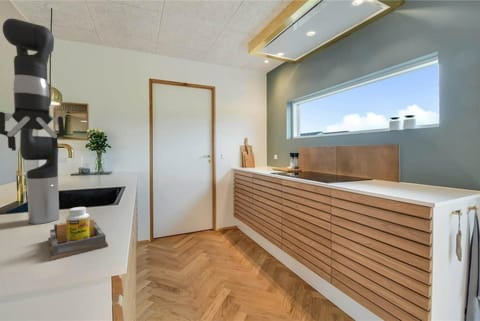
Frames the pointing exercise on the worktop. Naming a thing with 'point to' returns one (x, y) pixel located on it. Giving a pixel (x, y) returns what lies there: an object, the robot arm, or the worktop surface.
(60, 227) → the board
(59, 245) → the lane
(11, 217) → the worktop surface
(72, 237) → the supplement bottle
